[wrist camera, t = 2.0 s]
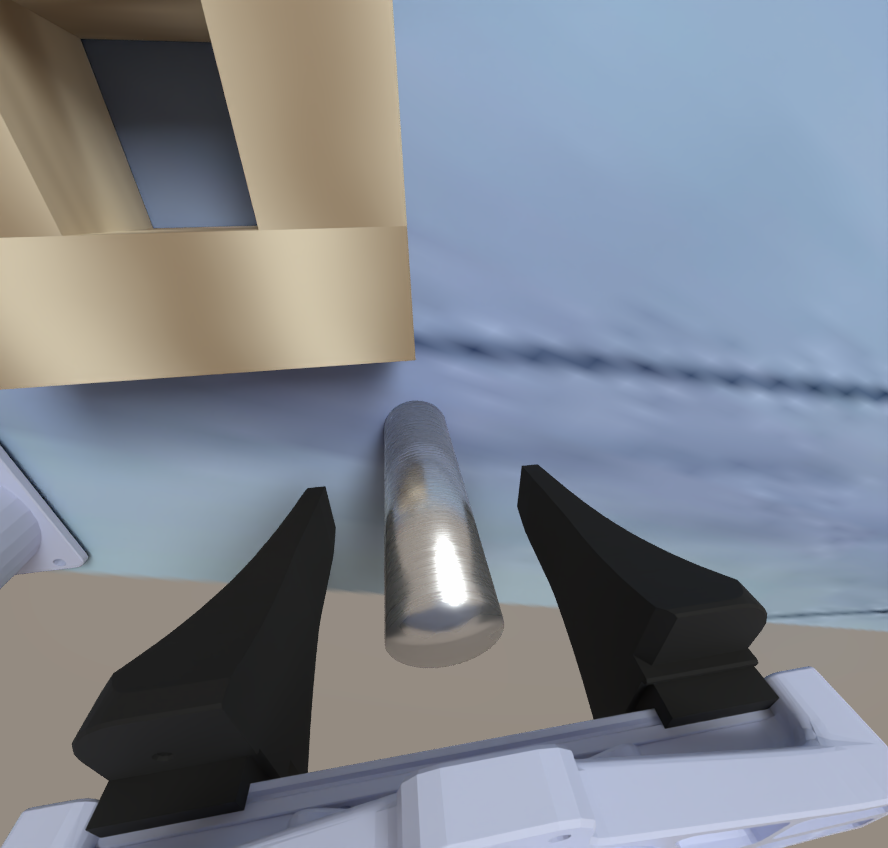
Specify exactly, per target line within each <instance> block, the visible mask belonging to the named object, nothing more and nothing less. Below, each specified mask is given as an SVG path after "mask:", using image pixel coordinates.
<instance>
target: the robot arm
mask: <svg viewBox="0 0 888 848" xmlns="http://www.w3.org/2000/svg"><path fill="white" fill-rule="evenodd" d="M517 507H518V511H519V514H520V517H521V520H522V523H523V526H524V529H525V532H526V534H527V536H528V539H529V541H530V543H531V545H532V547H533V549H534V552H535V554H536V556H537V558H538V560H539V562H540V564H541V566H542V569H543V571H544V573H545V575H546V577H547V579H548V581H549V583H550V586H551V588H552V591H553V593H554V595H555V598H556V601H557V604H558V607H559V609H560V612H561V615H562V618H563V621H564V624H565V627H566V629H567V633H568V636H569V639H570V642H571V645H572V648H573V651H574V654H575V657H576V661H577V664H578V667H579V670H580V674H581V677H582V680H583V684H584V687H585V690H586V694H587V698H588V701H589V704H590V708H591V712H592V715H593V719H594V720H590V721H584V722H579V723H573V724H568V725H562V726H557V727H552V728H546V729H541V730H535V731H531V732H525V733H519V734H514V735H509V736H504V737H498V738H492V739H487V740H483V741H476V742H471V743H466V744H460V745H455V746H449V747H444V748H439V749H433V750H428V751H423V752H417V753H412V754H407V755H401V756H396V757H390V758H386V759H380V760H374V761H369V762H364V763H359V764H353V765H347V766H342V767H337V768H331V769H326V770H321V771H316V772H310V773H308V758H309V740H310V739H309V738H310V724H311V710H312V697H313V685H314V673H315V662H316V652H317V643H318V632H319V626H320V619H321V614H322V609H323V604H324V599H325V594H326V590H327V585H328V580H329V575H330V570H331V565H332V560H333V554H334V543H335V528H336V527H335V523H334V519H333V515H332V511H331V507H330V503H329V499H328V495H327V491H326V487H315V488H308V489H307V490H306V491H305V492H304V493H303V495H302V496H301V498H300V499H299V500H298V502H297V503H296V505H295V506H294V507H293V509H292V510H291V512H290V513H289V514H288V516H287V517H286V518H285V520H284V521H283V522H282V524H281V525H280V526H279V527H278V529H277V530H276V531H275V533H274V534H273V535H272V536H271V538H270V539H269V540H268V541H267V542H266V544H265V545H264V546H263V547H262V548H261V549H260V551H259V552H258V553H257V554H256V555H255V556H254V558H253V559H252V560H251V561H250V562H249V563H248V564H247V565H246V566H245V567H244V568H243V569H242V570H241V571H240V572H239V573H238V575H237V576H236V577H235V578H234V579H233V580H232V581H231V582H230V583H228V584H227V585H226V586H225V587H224V588H223V589H222V590H221V591H220V592H219V593H218V594H216V596H214V597H213V598H212V599H211V600H210V601H209V602H208V603H206V604H205V605H204V606H203V607H202V608H201V609H200V610H198V611H197V612H196V613H195V614H193V615H192V616H191V617H190V618H189V619H187V620H186V621H185V622H184V623H182V624H181V625H180V626H179V627H177V628H176V629H175V630H173V631H172V632H171V633H170V634H168V635H167V636H166V637H164V638H163V639H162V640H160V641H159V642H158V643H156V644H155V645H153V646H152V647H151V648H149V649H148V650H146V651H145V652H143V653H142V654H141V655H139V656H138V657H136V658H135V659H134V660H132V661H131V662H129V663H128V664H126V665H125V666H124V667H122V668H121V669H119V670H118V671H116V672H115V673H113V675H112V677H111V678H110V680H109V681H108V683H107V684H106V686H105V687H104V689H103V690H102V692H101V693H100V695H99V697H98V699H97V700H96V702H95V704H94V706H93V707H92V709H91V711H90V713H89V714H88V716H87V718H86V720H85V721H84V723H83V725H82V726H81V728H80V730H79V732H78V733H77V735H76V737H75V739H74V740H73V742H72V748H73V752H74V755H75V756H76V757H77V758H78V759H79V760H80V761H81V762H83V763H84V764H85V765H87V766H88V767H90V768H91V769H93V770H94V771H96V772H97V773H98V774H100V775H101V776H103V777H104V778H106V779H107V780H109V782H108V784H107V786H106V788H105V790H104V792H103V794H102V796H101V798H100V800H97V799H89V798H85V799H76V800H70V801H65V802H59V803H54V804H49V805H43V806H37V807H32V808H28V809H27V810H25V811H24V812H22V813H21V815H20V817H19V819H18V820H17V822H16V823H15V825H14V827H13V828H12V830H11V832H10V833H9V835H8V837H7V838H6V840H5V842H4V843H3V845H2V847H1V848H784V847H787V846H791V845H795V844H798V843H802V842H806V841H810V840H813V839H817V838H821V837H824V836H829V835H832V834H837V833H841V832H845V831H849V830H853V829H856V828H861V827H863V826H865V825H867V824H870V823H872V822H874V821H876V820H878V819H880V818H882V817H884V816H886V815H888V746H887V745H886V744H885V743H884V742H883V741H882V740H881V739H880V738H879V737H878V736H877V735H876V734H875V733H874V731H872V729H871V728H870V727H869V726H868V725H867V724H866V723H865V722H864V721H863V720H862V719H861V718H860V717H859V715H857V713H856V712H855V711H854V710H853V709H852V708H851V707H850V706H849V705H848V704H847V703H846V701H845V700H844V699H843V698H842V697H841V696H840V695H839V694H838V693H837V692H836V691H835V690H834V689H833V688H832V687H831V686H830V684H829V683H828V682H827V681H826V680H825V679H824V678H823V677H822V676H821V675H820V674H819V673H818V671H816V669H815V668H813V667H809V666H808V667H803V668H797V669H792V670H786V671H781V672H776V673H773V674H770V675H768V676H766V677H765V678H763V677H762V676H761V674H760V673H759V672H758V671H757V669H756V668H755V667H754V666H756V665H757V664H758V660H757V658H756V657H755V656H754V655H753V654H752V652H751V651H750V650H749V649H748V647H749V646H750V645H751V643H752V642H753V641H754V639H755V638H756V637H757V636H758V634H759V633H760V632H761V630H762V629H763V627H764V625H765V624H766V619H767V612H766V610H765V608H764V607H763V606H762V605H761V604H760V603H759V602H758V601H757V600H756V599H755V598H754V597H753V596H752V595H751V594H750V593H749V591H748V590H747V589H746V588H745V587H744V586H743V585H742V584H741V583H740V582H739V581H738V580H736V579H733V578H731V577H728V576H725V575H723V574H720V573H717V572H715V571H712V570H709V569H707V568H704V567H701V566H699V565H696V564H694V563H692V562H689V561H687V560H685V559H682V558H680V557H678V556H676V555H673V554H671V553H669V552H667V551H665V550H663V549H661V548H659V547H657V546H655V545H653V544H651V543H649V542H647V541H645V540H643V539H641V538H639V537H638V536H636V535H634V534H632V533H630V532H629V531H627V530H625V529H624V528H622V527H620V526H619V525H617V524H615V523H614V522H612V521H611V520H609V519H608V518H606V517H605V516H603V515H602V514H600V513H599V512H597V511H596V510H594V509H593V508H592V507H590V506H589V505H587V504H586V503H585V502H583V501H582V500H581V499H579V498H578V497H577V496H576V495H574V494H573V493H572V492H570V491H569V490H568V489H567V488H565V487H564V486H563V485H562V484H561V483H559V482H558V481H557V480H556V479H555V478H553V477H552V476H551V475H550V474H549V473H547V472H546V471H545V470H544V469H543V468H541V467H540V466H539V465H538V464H537V465H527V466H522V469H521V478H520V487H519V495H518V504H517ZM87 559H88V556H87V554H86V552H85V551H84V550H83V549H82V547H81V546H80V545H79V544H78V542H77V541H76V540H75V539H74V537H73V536H72V535H71V534H70V532H69V531H68V530H67V529H66V527H65V526H64V525H63V524H62V522H61V521H60V520H59V518H58V517H57V516H56V515H55V513H54V512H53V511H52V510H51V508H50V507H49V506H48V505H47V503H46V502H45V501H44V500H43V498H42V497H41V496H40V495H39V493H38V492H37V491H36V490H35V488H34V487H33V486H32V485H31V483H30V482H29V481H28V480H27V478H26V477H25V476H24V474H23V473H22V472H21V471H20V469H19V468H18V467H17V466H16V464H15V463H14V462H13V461H12V459H11V458H10V457H9V456H8V454H7V453H6V452H5V451H4V449H3V448H2V447H1V446H0V589H1V588H2V587H3V586H4V585H5V584H6V583H7V582H8V581H9V580H10V579H11V578H12V577H13V576H14V575H17V574H26V573H34V572H42V571H50V570H58V569H66V568H75V567H80V566H82V565H83V564H84V563H85V562H86V560H87Z"/></svg>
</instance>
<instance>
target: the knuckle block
mask: <svg viewBox="0 0 888 848" xmlns="http://www.w3.org/2000/svg"><path fill="white" fill-rule="evenodd" d="M81 39H109V40H146V41H183V42H211V43H212V47H213V51H214V55H215V59H216V63H217V66H218V70H219V74H220V78H221V82H222V86H223V90H224V94H225V98H226V102H227V106H228V110H229V114H230V118H231V122H232V126H233V130H234V134H235V138H236V142H237V146H238V150H239V154H240V158H241V162H242V166H243V170H244V174H245V178H246V182H247V186H248V190H249V193H250V197H251V201H252V205H253V209H254V213H255V217H256V221H257V225H258V226H226V227H190V228H153V227H152V224H151V221H150V219H149V216H148V214H147V211H146V208H145V206H144V203H143V201H142V198H141V195H140V193H139V190H138V188H137V185H136V182H135V180H134V177H133V175H132V172H131V169H130V167H129V164H128V162H127V159H126V156H125V154H124V151H123V149H122V146H121V143H120V141H119V138H118V136H117V133H116V130H115V128H114V125H113V123H112V120H111V117H110V115H109V112H108V110H107V107H106V104H105V102H104V99H103V97H102V94H101V91H100V89H99V86H98V84H97V81H96V78H95V76H94V73H93V71H92V68H91V65H90V63H89V60H88V58H87V55H86V52H85V50H84V47H83V45H82V42H81ZM410 360H415V346H414V330H413V315H412V299H411V284H410V268H409V252H408V237H407V221H406V206H405V190H404V175H403V159H402V144H401V128H400V113H399V97H398V82H397V66H396V51H395V35H394V20H393V4H392V0H0V389H14V388H29V387H43V386H57V385H71V384H85V383H99V382H113V381H127V380H142V379H156V378H170V377H184V376H198V375H212V374H226V373H241V372H255V371H269V370H283V369H297V368H311V367H325V366H340V365H354V364H368V363H382V362H396V361H410Z"/></svg>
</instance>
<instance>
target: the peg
mask: <svg viewBox="0 0 888 848" xmlns="http://www.w3.org/2000/svg"><path fill="white" fill-rule="evenodd" d="M384 552H385V647H386V650H387V652H388V653H389V654H390V655H391V657H393V658H394V659H395V660H397V661H399V662H401V663H403V664H406V665H410V666H414V667H420V668H439V667H446V666H452V665H456V664H460V663H462V662H465V661H468V660H471V659H473V658H475V657H477V656H479V655H481V654H482V653H484V652H486V651H487V650H488V649H490V648H491V647H492V646H493V645H494V644H495V643H496V642H497V641H498V639H499V638H500V636H501V635H502V632H503V629H504V620H503V617H502V613H501V610H500V606H499V602H498V599H497V596H496V592H495V589H494V585H493V582H492V578H491V575H490V572H489V568H488V565H487V561H486V558H485V555H484V551H483V548H482V544H481V541H480V537H479V534H478V531H477V527H476V524H475V520H474V517H473V513H472V510H471V507H470V503H469V500H468V496H467V493H466V489H465V486H464V483H463V479H462V476H461V472H460V469H459V465H458V462H457V459H456V455H455V452H454V448H453V445H452V441H451V438H450V435H449V431H448V428H447V424H446V421H445V418H444V415H443V414H442V412H441V411H440V410H439V409H438V408H437V407H436V406H434V405H432V404H430V403H428V402H424V401H409V402H405V403H403V404H400V405H399V406H397V407H396V408H394V409H393V410H392V411H391V412H390V413H389V415H388V416H387V418H386V421H385V425H384Z"/></svg>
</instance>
